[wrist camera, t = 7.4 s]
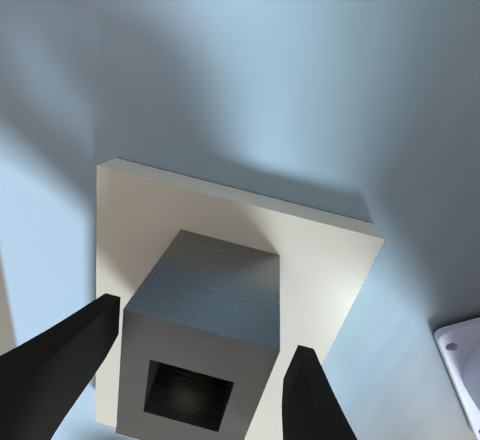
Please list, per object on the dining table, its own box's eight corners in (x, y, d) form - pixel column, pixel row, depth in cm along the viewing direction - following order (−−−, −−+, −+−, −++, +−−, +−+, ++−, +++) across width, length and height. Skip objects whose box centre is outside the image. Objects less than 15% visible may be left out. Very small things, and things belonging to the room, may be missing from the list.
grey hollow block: (180, 229, 12) (123, 308, 8) (279, 255, 12) (280, 350, 8) (165, 329, 15) (116, 432, 10) (247, 350, 15) (233, 465, 10)
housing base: (115, 157, 13) (27, 192, 8) (374, 223, 13) (426, 296, 8) (107, 400, 20) (58, 487, 16) (268, 444, 20) (265, 545, 16)
